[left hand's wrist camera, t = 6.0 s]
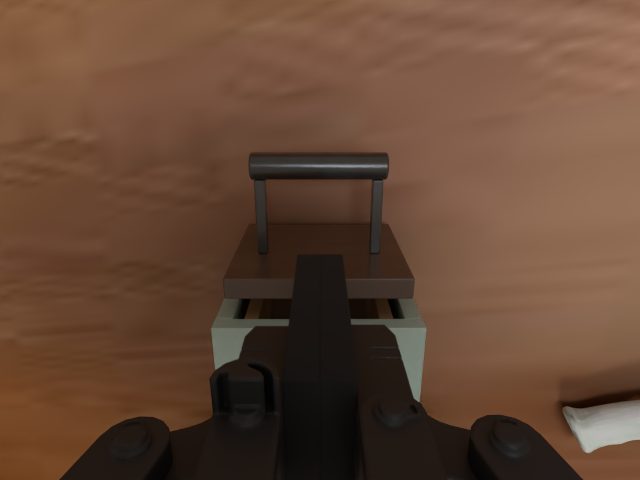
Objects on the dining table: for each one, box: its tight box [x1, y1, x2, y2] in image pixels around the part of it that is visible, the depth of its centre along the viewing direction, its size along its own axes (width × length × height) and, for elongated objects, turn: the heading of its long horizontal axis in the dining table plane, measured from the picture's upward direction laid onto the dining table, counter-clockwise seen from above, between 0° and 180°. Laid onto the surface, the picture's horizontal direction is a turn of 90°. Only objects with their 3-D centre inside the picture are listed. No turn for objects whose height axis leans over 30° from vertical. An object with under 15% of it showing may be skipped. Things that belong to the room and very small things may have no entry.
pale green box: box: [211, 298, 427, 402], centre depth 31 cm, size 18×11×11 cm, turn 0°
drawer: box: [223, 153, 415, 319], centre depth 29 cm, size 23×10×9 cm, turn 0°
